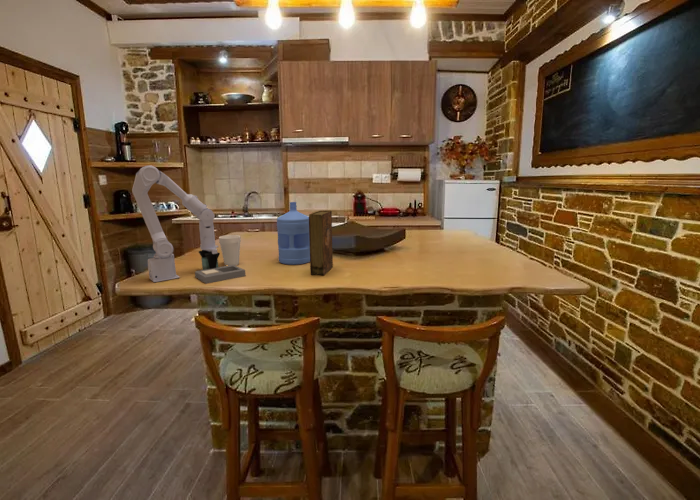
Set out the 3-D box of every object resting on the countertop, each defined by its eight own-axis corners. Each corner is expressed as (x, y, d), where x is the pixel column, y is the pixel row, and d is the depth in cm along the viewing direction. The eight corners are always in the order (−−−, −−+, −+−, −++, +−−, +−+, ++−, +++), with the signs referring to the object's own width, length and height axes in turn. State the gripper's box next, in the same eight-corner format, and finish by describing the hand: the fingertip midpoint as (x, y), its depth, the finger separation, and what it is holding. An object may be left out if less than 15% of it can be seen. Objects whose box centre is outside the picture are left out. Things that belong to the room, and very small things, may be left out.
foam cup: (228, 267, 160) (226, 239, 157) (217, 265, 165) (214, 237, 163) (246, 263, 167) (244, 236, 164) (234, 261, 173) (232, 234, 170)
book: (321, 265, 162) (320, 210, 157) (333, 266, 161) (332, 210, 156) (310, 275, 146) (308, 214, 141) (323, 276, 145) (321, 214, 140)
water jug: (282, 257, 179) (280, 201, 173) (314, 257, 178) (312, 200, 173) (275, 265, 164) (271, 203, 158) (309, 265, 163) (307, 203, 157)
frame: (205, 283, 136) (205, 276, 136) (195, 277, 145) (194, 270, 145) (245, 275, 147) (245, 269, 146) (233, 270, 155) (232, 263, 155)
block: (206, 273, 151) (205, 259, 149) (202, 271, 154) (201, 258, 153) (218, 271, 154) (217, 258, 153) (214, 269, 157) (213, 256, 156)
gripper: (223, 237, 148) (226, 269, 151) (210, 233, 159) (213, 263, 162) (206, 239, 144) (209, 272, 146) (194, 235, 154) (197, 265, 157)
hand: (210, 267), depth 154 cm, fingers open, 6 cm apart
